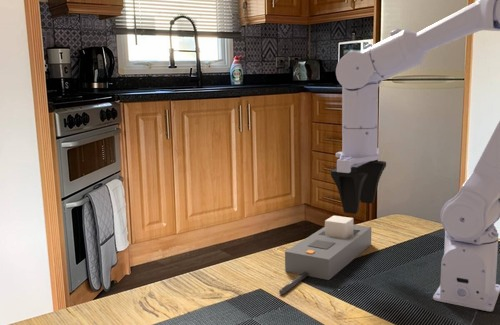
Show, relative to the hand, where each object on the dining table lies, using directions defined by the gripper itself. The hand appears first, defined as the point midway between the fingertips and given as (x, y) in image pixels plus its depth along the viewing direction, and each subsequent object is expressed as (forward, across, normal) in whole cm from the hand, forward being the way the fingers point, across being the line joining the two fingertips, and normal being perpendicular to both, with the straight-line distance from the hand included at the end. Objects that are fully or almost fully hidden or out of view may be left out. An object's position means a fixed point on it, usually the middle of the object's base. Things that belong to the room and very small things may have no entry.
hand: (359, 207), depth 86 cm
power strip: (+10, +2, -6) cm, 12 cm away
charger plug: (+9, -6, -6) cm, 13 cm away
